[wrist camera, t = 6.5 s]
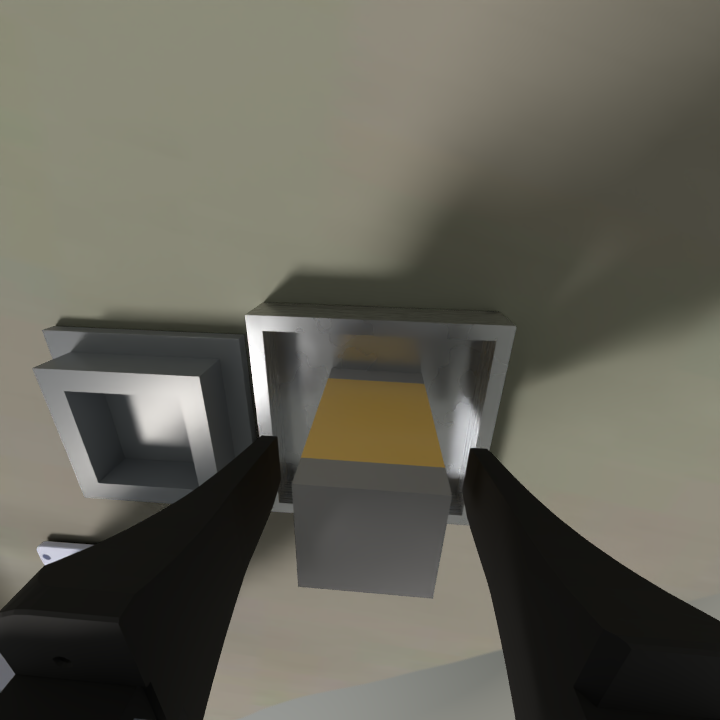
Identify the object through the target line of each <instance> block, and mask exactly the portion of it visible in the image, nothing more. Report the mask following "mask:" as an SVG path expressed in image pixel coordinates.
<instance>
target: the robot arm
mask: <svg viewBox="0 0 720 720" xmlns="http://www.w3.org/2000/svg"><path fill="white" fill-rule="evenodd" d="M280 481H281V471H280V460H279V449H278V438H277V436H265V435H261V436H260V437H259V438H258V439H257V440H255V441H254V442H253V443H252V444H251V445H250V446H248V447H247V448H246V449H245V450H244V451H243V452H241V453H240V454H239V455H238V456H237V457H236V458H234V459H233V460H232V461H231V462H230V463H228V464H227V465H226V466H225V467H224V468H222V469H221V470H220V471H219V472H217V473H216V474H215V475H213V476H212V477H211V478H209V479H208V480H207V481H205V482H204V483H203V484H201V485H200V486H199V487H197V488H196V489H195V490H193V491H192V492H190V493H189V494H187V495H186V496H184V497H183V498H181V499H179V500H178V501H176V502H175V503H173V504H172V505H170V506H168V507H167V508H165V509H163V510H162V511H160V512H158V513H156V514H154V515H153V516H151V517H149V518H147V519H146V520H144V521H142V522H140V523H138V524H137V525H135V526H133V527H131V528H129V529H127V530H125V531H123V532H121V533H119V534H117V535H115V536H112V537H110V538H108V539H106V540H104V541H102V542H100V543H98V544H95V545H90V544H78V543H65V542H52V541H44V542H42V543H41V544H40V545H39V546H38V547H37V552H38V554H39V556H40V558H41V559H42V561H43V563H44V565H45V566H44V567H43V568H42V569H41V570H40V571H39V572H38V573H37V574H36V575H35V576H34V577H33V578H32V579H31V580H30V581H29V582H28V583H27V584H26V585H25V586H24V587H23V588H22V589H21V590H20V591H19V592H18V593H17V594H16V595H15V596H14V597H13V598H12V599H11V600H10V601H9V602H8V603H7V604H6V605H5V606H4V607H3V608H2V609H1V610H0V720H203V718H204V714H205V710H206V706H207V702H208V698H209V695H210V691H211V687H212V683H213V679H214V676H215V672H216V669H217V665H218V662H219V658H220V654H221V651H222V647H223V644H224V640H225V637H226V633H227V630H228V627H229V623H230V620H231V617H232V613H233V610H234V607H235V604H236V600H237V597H238V594H239V591H240V588H241V585H242V582H243V579H244V575H245V573H246V570H247V567H248V565H249V562H250V560H251V557H252V555H253V553H254V550H255V548H256V546H257V543H258V541H259V539H260V536H261V534H262V531H263V529H264V527H265V524H266V522H267V520H268V517H269V515H270V512H271V510H272V508H273V505H274V502H275V499H276V495H277V492H278V488H279V485H280ZM462 493H463V499H464V504H465V509H466V515H467V519H468V522H469V525H470V529H471V532H472V535H473V538H474V541H475V545H476V548H477V551H478V554H479V557H480V560H481V563H482V567H483V570H484V573H485V576H486V579H487V582H488V586H489V590H490V593H491V597H492V602H493V606H494V611H495V615H496V620H497V625H498V629H499V634H500V639H501V644H502V649H503V653H504V658H505V664H506V669H507V674H508V679H509V685H510V690H511V696H512V701H513V707H514V712H515V719H516V720H720V621H719V620H717V619H715V618H713V617H711V616H710V615H707V614H706V613H704V612H702V611H701V610H699V609H696V608H695V607H693V606H691V605H690V604H688V603H686V602H684V601H682V600H680V599H679V598H677V597H675V596H673V595H671V594H669V593H668V592H666V591H664V590H663V589H661V588H659V587H658V586H656V585H654V584H653V583H651V582H649V581H648V580H646V579H644V578H643V577H641V576H639V575H638V574H636V573H635V572H633V571H632V570H630V569H628V568H627V567H625V566H624V565H622V564H621V563H619V562H618V561H616V560H615V559H613V558H612V557H610V556H609V555H607V554H606V553H605V552H603V551H602V550H600V549H599V548H597V547H596V546H594V545H593V544H592V543H590V542H589V541H588V540H586V539H585V538H583V537H582V536H581V535H580V534H578V533H577V532H576V531H574V530H573V529H572V528H571V527H569V526H568V525H567V524H566V523H564V522H563V521H562V520H561V519H559V518H558V517H557V516H556V515H555V514H553V513H552V512H551V511H550V510H549V509H548V508H547V507H546V506H544V505H543V504H542V503H541V502H540V501H539V500H538V499H537V498H536V497H534V496H533V495H532V494H531V493H530V492H529V491H528V490H527V489H526V488H525V487H524V486H523V485H522V484H521V483H520V482H519V481H518V480H517V479H516V478H515V477H514V476H513V475H512V474H511V473H510V472H509V471H508V470H507V469H506V468H505V467H504V466H503V465H502V464H501V463H500V462H499V460H498V459H497V458H496V457H495V456H494V455H493V454H492V453H491V452H490V451H489V450H488V449H484V448H470V451H469V456H468V462H467V467H466V472H465V477H464V483H463V488H462Z"/></svg>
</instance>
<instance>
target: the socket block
mask: <svg viewBox="0 0 720 720" xmlns="http://www.w3.org/2000/svg"><path fill="white" fill-rule="evenodd" d="M42 331H43V334H44V337H45V339H46V342H47V345H48V348H49V350H50V353H51V356H52V358H53V360H50V361H48V362H46V363H43V364H41V365H39V366H36V367H34V368H32V369H33V371H34V374H35V376H36V378H37V381H38V383H39V386H40V388H41V391H42V393H43V396H44V398H45V401H46V403H47V406H48V408H49V411H50V413H51V416H52V418H53V420H54V423H55V425H56V428H57V430H58V433H59V435H60V438H61V440H62V443H63V445H64V448H65V450H66V453H67V455H68V458H69V460H70V462H71V465H72V467H73V470H74V472H75V475H76V477H77V480H78V482H79V485H80V487H81V490H82V492H83V495H84V497H85V498H99V499H113V500H127V501H141V502H156V503H170V504H173V503H175V502H176V501H178V500H179V499H181V498H183V497H184V496H186V495H187V494H189V493H190V492H192V491H193V490H195V489H196V488H197V487H199V486H200V485H201V484H203V483H204V482H205V481H207V480H208V479H209V478H211V477H212V476H213V475H215V474H216V473H217V472H219V471H220V470H221V469H222V468H224V467H225V466H226V465H227V464H228V463H230V462H231V461H232V460H233V459H234V458H236V457H237V456H238V455H239V454H240V453H241V452H243V451H244V450H245V449H246V448H247V447H248V446H250V445H251V444H252V443H253V442H254V441H255V440H257V437H256V429H255V420H254V412H253V404H252V396H251V387H250V379H249V371H248V363H247V354H246V346H245V338H244V334H222V333H199V332H176V331H153V330H131V329H108V328H85V327H62V326H53V327H50V328H47V329H44V330H42Z"/></svg>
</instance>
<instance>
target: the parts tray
mask: <svg viewBox="0 0 720 720" xmlns="http://www.w3.org/2000/svg"><path fill="white" fill-rule="evenodd" d="M245 319H246V327H247V336H248V344H249V353H250V361H251V370H252V378H253V387H254V395H255V404H256V412H257V421H258V430H259V437H260V436H261V435H265V436H277V438H278V449H279V460H280V471H281V481H280V485H279V488H278V492H277V495H276V499H275V502H274V505H273V508H272V510H271V511H273V512H287V513H294V512H293V496H292V482H293V479H294V476H295V473H296V470H297V467H298V464H299V461H300V458H301V455H302V453H303V450H304V447H305V444H306V441H307V438H308V435H309V432H310V429H311V426H312V424H313V421H314V418H315V415H316V412H317V409H318V406H319V403H320V400H321V397H322V395H323V392H324V389H325V386H326V383H327V380H328V377H329V374H330V371H331V368H336V369H354V370H371V371H389V372H406V373H422V376H423V380H424V384H425V388H426V392H427V396H428V400H429V404H430V408H431V412H432V416H433V420H434V425H435V429H436V433H437V437H438V441H439V445H440V449H441V453H442V457H443V461H444V465H445V469H446V473H447V477H448V481H449V485H450V489H451V493H452V499H451V504H450V509H449V515H448V520H447V524H456V525H469V522H468V519H467V515H466V509H465V504H464V499H463V493H462V488H463V483H464V477H465V472H466V467H467V462H468V456H469V451H470V448H484V449H488V450H490V445H491V441H492V436H493V432H494V427H495V423H496V418H497V413H498V409H499V404H500V400H501V395H502V391H503V386H504V382H505V377H506V372H507V368H508V363H509V359H510V354H511V350H512V345H513V340H514V336H515V331H516V327H517V326H516V325H515V324H513V323H512V322H511V321H510V320H509V319H507V318H506V317H505V316H504V315H502V314H501V313H500V312H494V311H468V310H443V309H417V308H391V307H366V306H340V305H314V304H288V303H261V304H260V305H259V306H257V307H256V308H254V309H253V310H251V311H250V312H249V313H247V314H246V315H245Z"/></svg>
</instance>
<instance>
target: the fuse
mask: <svg viewBox="0 0 720 720" xmlns="http://www.w3.org/2000/svg"><path fill="white" fill-rule="evenodd" d="M292 496H293V512H294V528H295V543H296V559H297V575H298V587H309V588H320V589H332V590H343V591H354V592H366V593H377V594H388V595H399V596H411V597H422V598H433V594H434V589H435V583H436V578H437V573H438V568H439V562H440V557H441V552H442V546H443V541H444V536H445V530H446V525H447V520H448V515H449V509H450V504H451V499H452V493H451V489H450V485H449V481H448V477H447V473H446V469H445V465H444V461H443V457H442V453H441V449H440V445H439V441H438V437H437V433H436V429H435V425H434V420H433V416H432V412H431V408H430V404H429V400H428V396H427V392H426V388H425V384H424V380H423V376H422V373H406V372H389V371H371V370H354V369H336V368H331V371H330V374H329V377H328V380H327V383H326V386H325V389H324V392H323V395H322V397H321V400H320V403H319V406H318V409H317V412H316V415H315V418H314V421H313V424H312V426H311V429H310V432H309V435H308V438H307V441H306V444H305V447H304V450H303V453H302V455H301V458H300V461H299V464H298V467H297V470H296V473H295V476H294V479H293V482H292Z"/></svg>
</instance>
